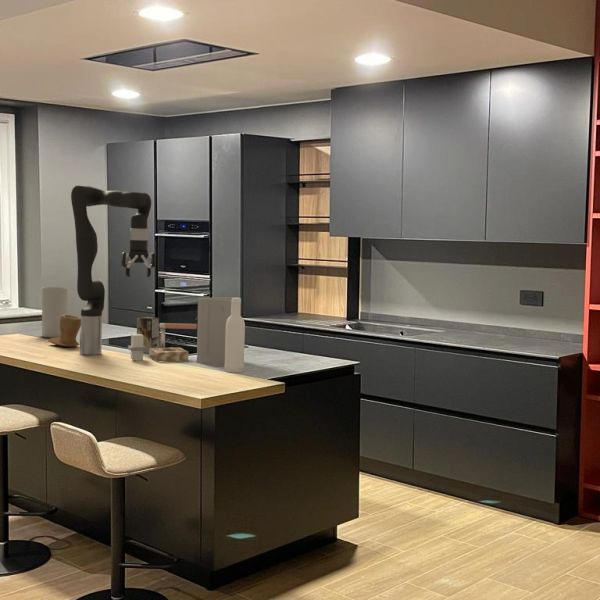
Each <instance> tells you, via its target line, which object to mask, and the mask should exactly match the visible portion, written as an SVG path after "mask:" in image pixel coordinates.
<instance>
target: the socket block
mask: <svg viewBox="0 0 600 600" xmlns="http://www.w3.org/2000/svg"><path fill="white" fill-rule="evenodd" d="M148 357H149V358H150V359H151V360H152V361H154V360H155V361H154V362H156V361H157V362H156V363H159V361H163V362H188V361H189V351H188V350H186V349H184V348H182V347H165V348H149V353H148ZM163 362H162V363H163Z"/></svg>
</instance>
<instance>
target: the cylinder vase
mask: <svg viewBox="0 0 600 600" xmlns="http://www.w3.org/2000/svg"><path fill="white" fill-rule="evenodd" d="M41 289H42V290H41V336H42V337H44V338H49V339H51V338H57V337H58V338H59V337H60V335H61V333H60V319H61V316H62V315H68V287H61V286H60V287H59V286H46V287H43V286H42V287H41Z"/></svg>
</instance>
